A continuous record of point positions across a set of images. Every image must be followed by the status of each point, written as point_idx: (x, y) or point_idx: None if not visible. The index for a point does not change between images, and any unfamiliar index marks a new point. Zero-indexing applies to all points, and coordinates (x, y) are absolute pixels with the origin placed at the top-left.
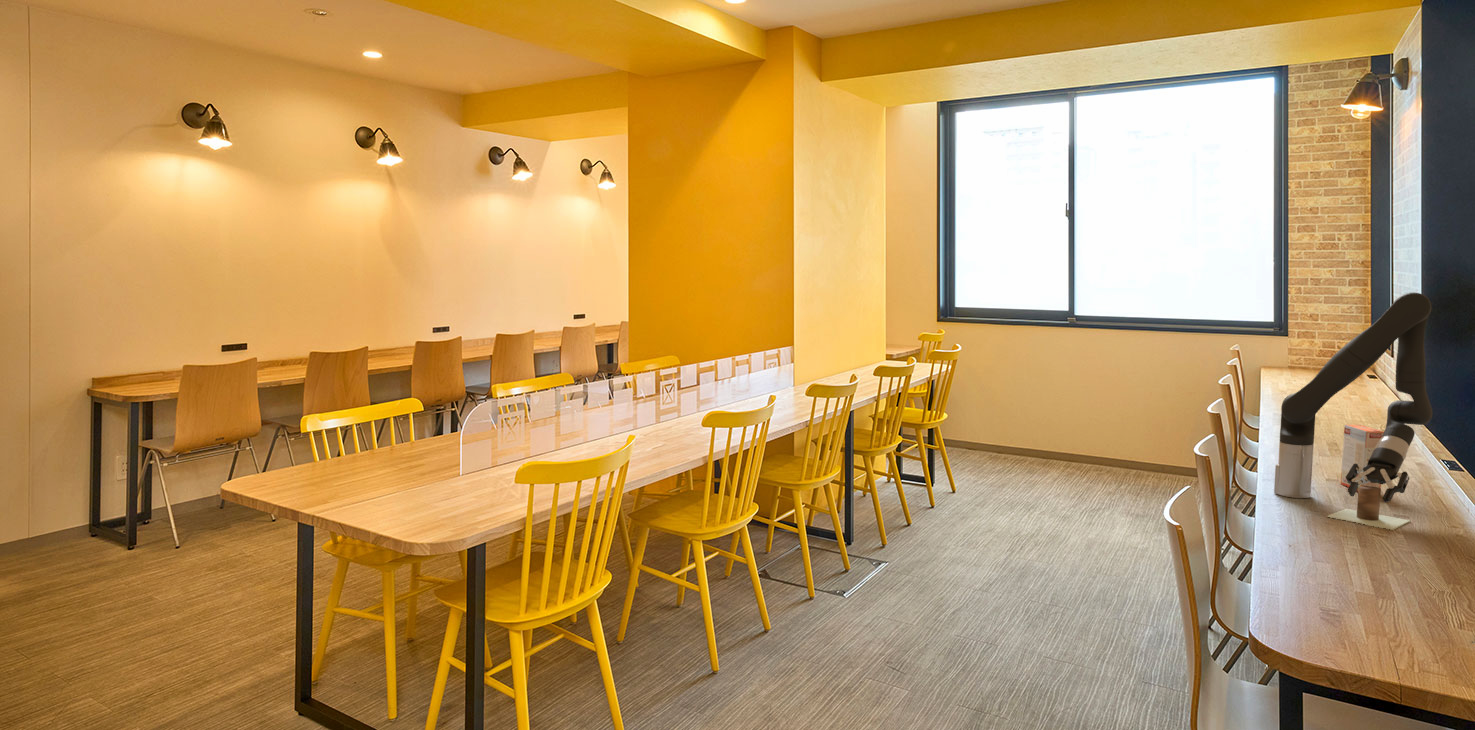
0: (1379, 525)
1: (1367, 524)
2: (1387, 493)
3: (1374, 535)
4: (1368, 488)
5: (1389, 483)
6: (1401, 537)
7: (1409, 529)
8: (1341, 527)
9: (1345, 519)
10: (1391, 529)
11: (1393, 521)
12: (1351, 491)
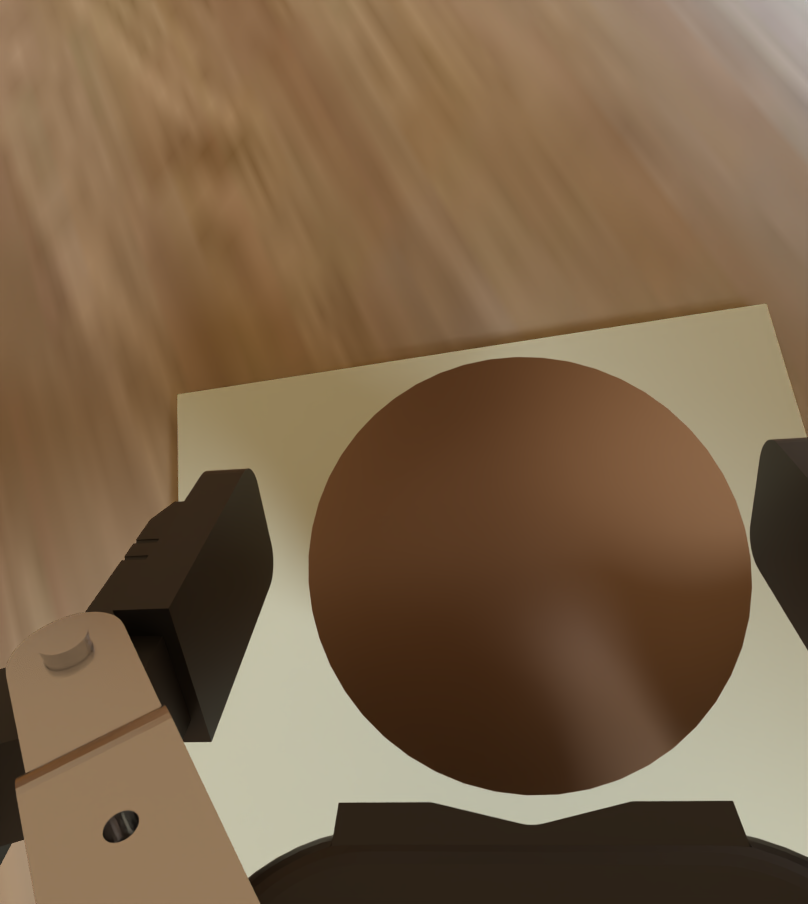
0: (298, 409)
1: (387, 364)
2: (168, 530)
3: (217, 125)
4: (502, 466)
5: (90, 717)
6: (66, 246)
7: (97, 579)
8: (478, 116)
9: (592, 340)
10: (189, 395)
11: (280, 720)
12: (781, 443)
